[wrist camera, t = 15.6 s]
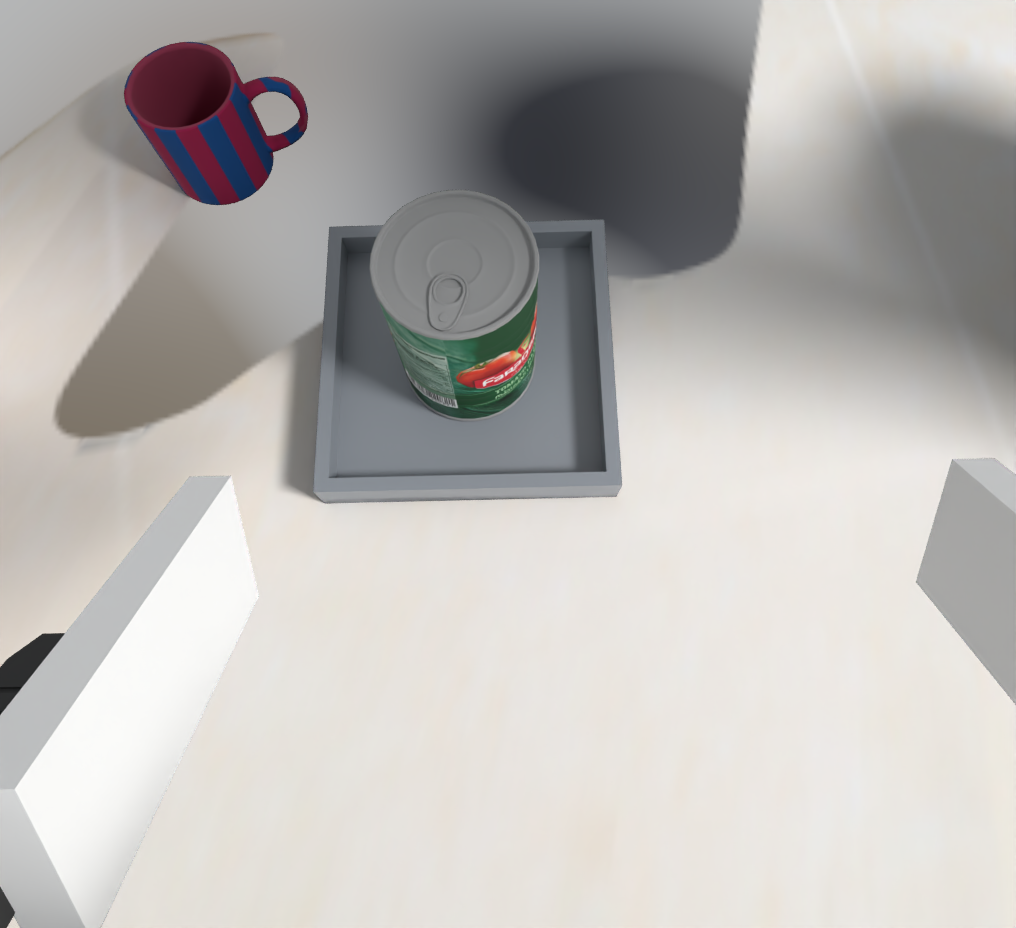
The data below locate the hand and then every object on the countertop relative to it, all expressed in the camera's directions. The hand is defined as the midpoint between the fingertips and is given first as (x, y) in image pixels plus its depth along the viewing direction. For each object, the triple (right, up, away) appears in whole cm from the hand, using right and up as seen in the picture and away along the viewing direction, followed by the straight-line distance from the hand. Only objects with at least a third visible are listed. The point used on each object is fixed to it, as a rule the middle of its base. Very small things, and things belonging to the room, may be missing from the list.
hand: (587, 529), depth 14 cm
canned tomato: (-4, +7, +31) cm, 32 cm away
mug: (-19, +22, +36) cm, 46 cm away
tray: (-4, +7, +31) cm, 32 cm away
